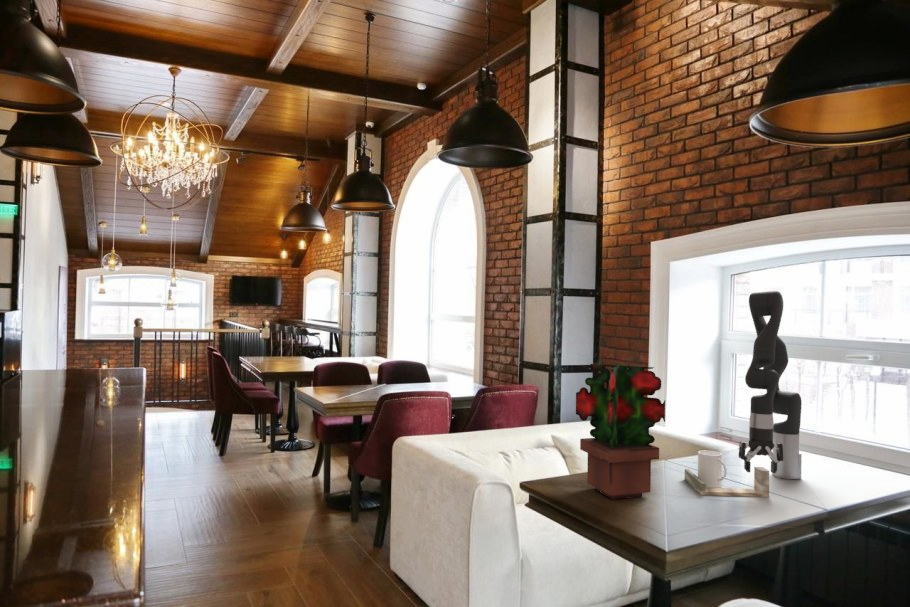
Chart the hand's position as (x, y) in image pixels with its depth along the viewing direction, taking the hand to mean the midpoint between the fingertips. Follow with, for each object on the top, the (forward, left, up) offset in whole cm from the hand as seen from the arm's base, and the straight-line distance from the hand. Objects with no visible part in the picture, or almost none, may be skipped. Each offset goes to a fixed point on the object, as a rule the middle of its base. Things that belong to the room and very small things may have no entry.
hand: (760, 472), depth 217 cm
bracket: (+10, -7, -8) cm, 14 cm away
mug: (+13, -10, -8) cm, 18 cm away
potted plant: (+50, +2, -8) cm, 50 cm away
